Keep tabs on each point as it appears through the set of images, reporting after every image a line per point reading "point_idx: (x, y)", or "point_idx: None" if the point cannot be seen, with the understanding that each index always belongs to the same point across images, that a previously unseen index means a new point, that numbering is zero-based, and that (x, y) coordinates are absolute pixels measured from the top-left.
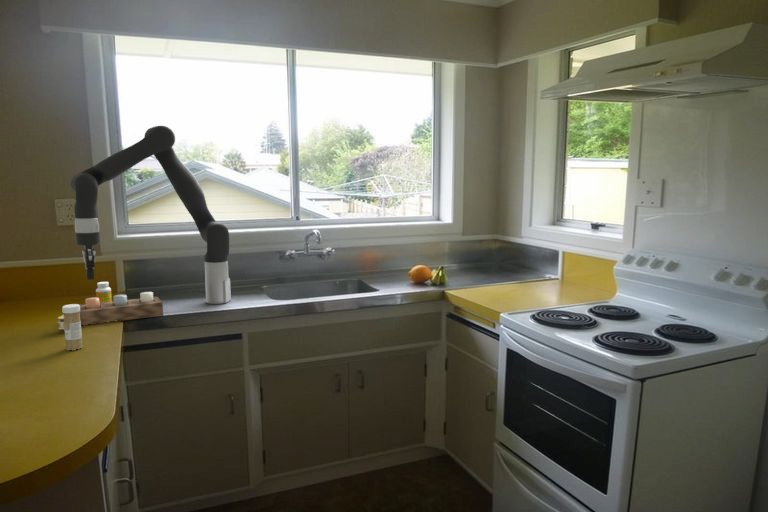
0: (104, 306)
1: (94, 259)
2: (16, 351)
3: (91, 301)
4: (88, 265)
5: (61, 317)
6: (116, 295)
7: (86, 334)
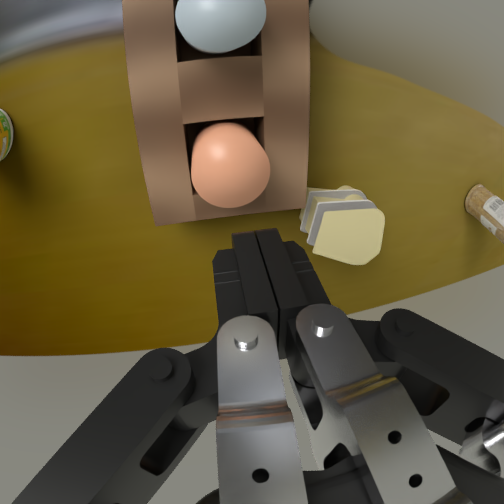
0: (247, 101)
1: (415, 421)
2: (415, 285)
3: (268, 173)
4: (399, 375)
5: (362, 256)
6: (194, 32)
7: (402, 166)
